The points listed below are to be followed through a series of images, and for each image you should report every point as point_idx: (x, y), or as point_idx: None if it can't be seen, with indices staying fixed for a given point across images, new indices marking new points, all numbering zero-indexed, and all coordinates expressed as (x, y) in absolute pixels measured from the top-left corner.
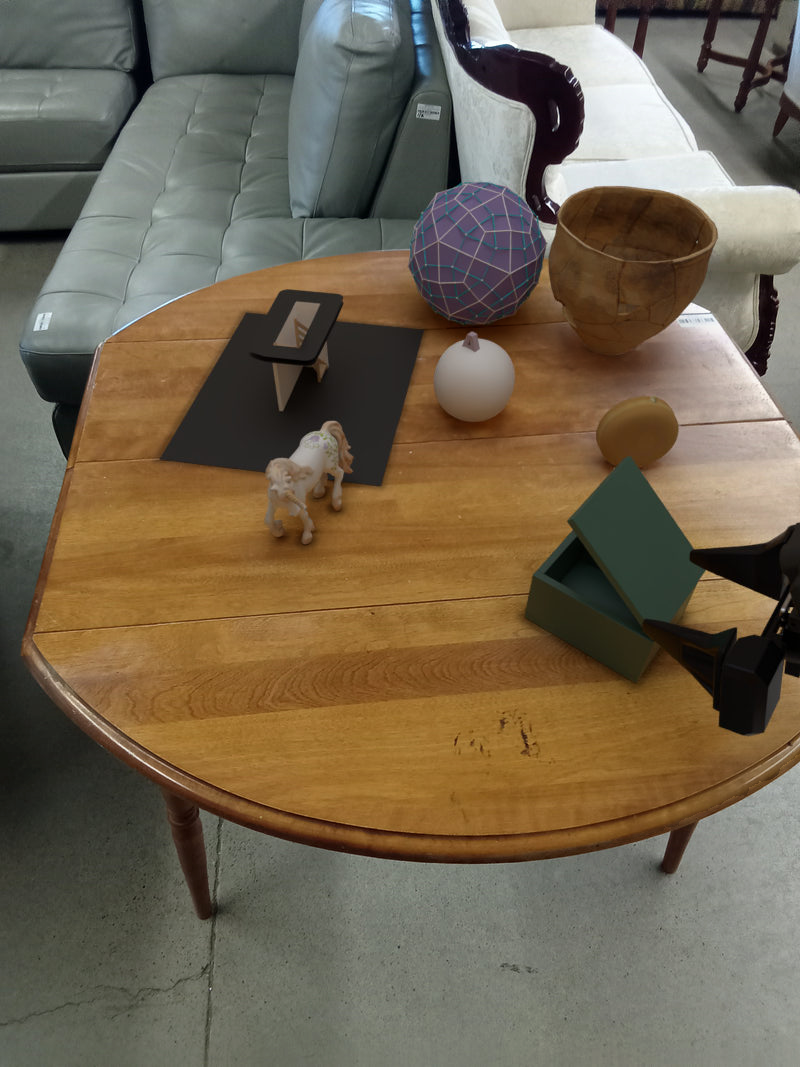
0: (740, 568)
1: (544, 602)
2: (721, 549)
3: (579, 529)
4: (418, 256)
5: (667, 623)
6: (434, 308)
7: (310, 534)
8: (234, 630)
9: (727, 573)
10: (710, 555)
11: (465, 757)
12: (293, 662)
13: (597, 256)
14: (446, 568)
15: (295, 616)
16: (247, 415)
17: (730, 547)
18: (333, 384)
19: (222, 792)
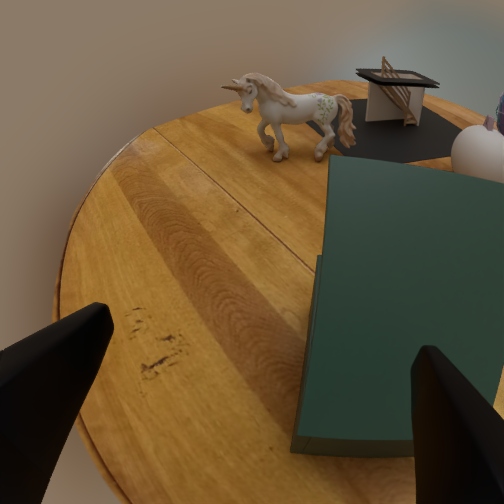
0: (447, 486)
1: (312, 298)
2: (474, 399)
3: (328, 176)
4: (501, 98)
5: (63, 332)
6: None
7: (279, 156)
8: (183, 167)
9: (425, 465)
10: (439, 388)
11: (123, 321)
12: (170, 196)
13: None
14: (320, 231)
15: (209, 181)
16: None
17: (494, 414)
18: (410, 130)
19: (77, 213)
